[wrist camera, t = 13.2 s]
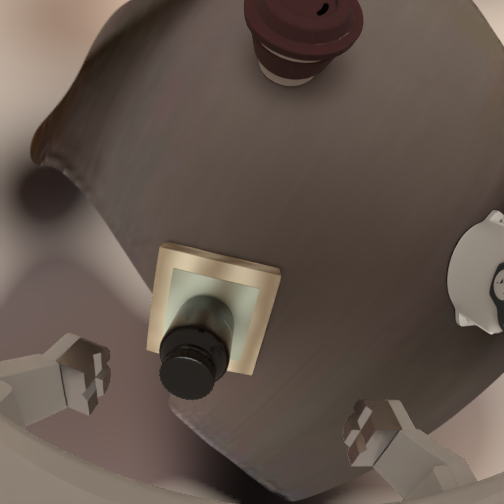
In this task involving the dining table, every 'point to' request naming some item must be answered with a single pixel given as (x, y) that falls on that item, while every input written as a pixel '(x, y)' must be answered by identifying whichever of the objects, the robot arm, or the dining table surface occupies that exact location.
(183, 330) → the supplement bottle
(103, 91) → the dining table surface
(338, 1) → the coffee cup
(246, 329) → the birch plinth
